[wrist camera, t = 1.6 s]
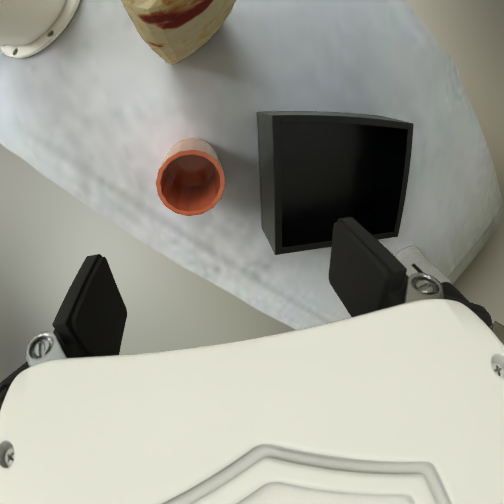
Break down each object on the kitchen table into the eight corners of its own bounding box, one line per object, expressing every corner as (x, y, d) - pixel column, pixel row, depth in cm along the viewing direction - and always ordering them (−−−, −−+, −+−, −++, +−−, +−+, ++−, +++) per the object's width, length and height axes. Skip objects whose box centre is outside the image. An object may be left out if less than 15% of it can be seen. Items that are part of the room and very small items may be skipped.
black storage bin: (261, 227, 36) (275, 255, 30) (256, 112, 28) (272, 115, 22) (371, 214, 38) (397, 236, 32) (380, 115, 30) (413, 123, 25)
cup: (169, 192, 31) (162, 220, 24) (162, 142, 28) (151, 156, 21) (220, 185, 32) (227, 210, 25) (215, 135, 29) (221, 146, 22)
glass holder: (400, 291, 49) (443, 344, 36) (359, 267, 43) (409, 331, 30) (428, 257, 45) (477, 305, 33) (391, 224, 40) (454, 279, 27)
